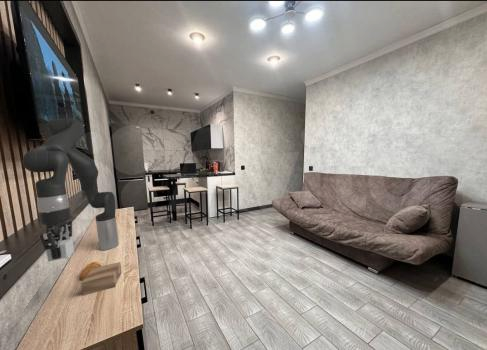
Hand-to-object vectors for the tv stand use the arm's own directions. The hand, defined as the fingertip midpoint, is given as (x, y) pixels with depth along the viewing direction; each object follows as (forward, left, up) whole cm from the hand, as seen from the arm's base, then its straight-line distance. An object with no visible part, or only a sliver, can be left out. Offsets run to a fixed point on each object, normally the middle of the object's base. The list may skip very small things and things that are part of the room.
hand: (61, 254), depth 64 cm
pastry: (-16, +1, -17) cm, 24 cm away
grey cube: (0, 0, -1) cm, 1 cm away
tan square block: (-5, +9, -17) cm, 20 cm away
